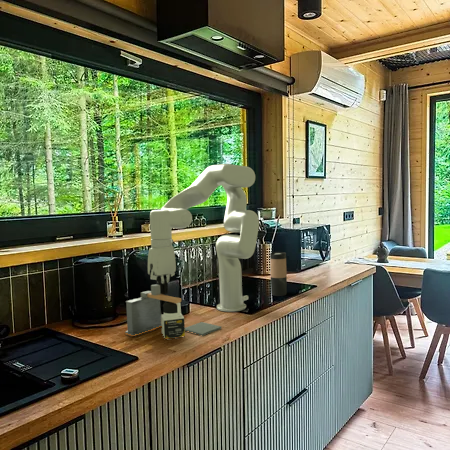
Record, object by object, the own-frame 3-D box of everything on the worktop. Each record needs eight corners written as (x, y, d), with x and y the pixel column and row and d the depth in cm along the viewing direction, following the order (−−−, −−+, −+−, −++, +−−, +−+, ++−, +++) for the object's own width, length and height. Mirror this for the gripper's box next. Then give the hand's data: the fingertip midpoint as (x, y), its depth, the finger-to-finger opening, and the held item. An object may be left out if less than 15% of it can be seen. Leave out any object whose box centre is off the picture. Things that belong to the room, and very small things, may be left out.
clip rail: (155, 324, 163) (154, 293, 162) (163, 326, 160) (162, 294, 159) (125, 334, 152) (123, 301, 151) (133, 337, 149) (131, 303, 148)
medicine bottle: (164, 340, 145) (163, 305, 144) (161, 333, 152) (160, 300, 151) (185, 337, 147) (183, 303, 146) (181, 331, 154) (180, 298, 153)
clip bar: (148, 294, 159) (148, 282, 159) (182, 302, 147) (182, 288, 146) (140, 296, 156) (140, 284, 156) (175, 304, 144) (174, 290, 144)
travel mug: (286, 292, 208) (285, 251, 207) (287, 296, 201) (286, 254, 199) (270, 292, 209) (269, 252, 208) (271, 296, 202) (270, 254, 200)
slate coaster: (201, 323, 162) (201, 321, 162) (221, 328, 155) (221, 326, 155) (182, 330, 155) (182, 328, 154) (202, 336, 148) (202, 333, 148)
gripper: (170, 241, 163) (171, 288, 164) (138, 245, 151) (140, 296, 153) (183, 242, 158) (185, 290, 159) (152, 246, 147) (154, 299, 148)
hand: (163, 293), depth 156 cm, fingers closed
